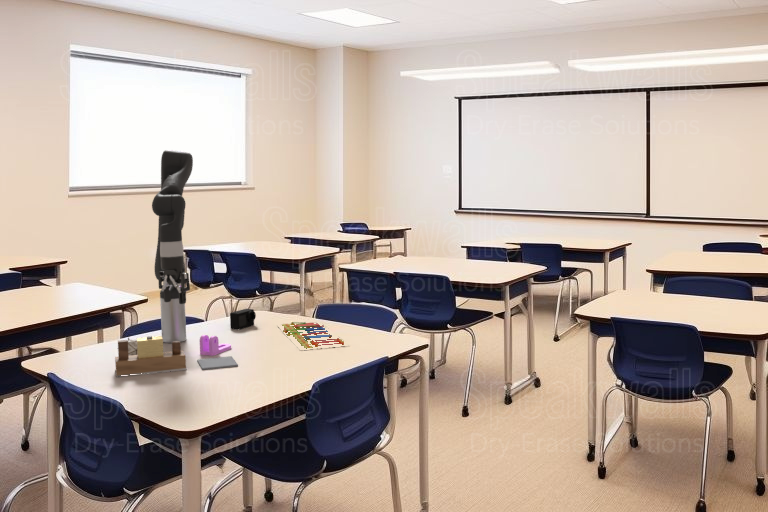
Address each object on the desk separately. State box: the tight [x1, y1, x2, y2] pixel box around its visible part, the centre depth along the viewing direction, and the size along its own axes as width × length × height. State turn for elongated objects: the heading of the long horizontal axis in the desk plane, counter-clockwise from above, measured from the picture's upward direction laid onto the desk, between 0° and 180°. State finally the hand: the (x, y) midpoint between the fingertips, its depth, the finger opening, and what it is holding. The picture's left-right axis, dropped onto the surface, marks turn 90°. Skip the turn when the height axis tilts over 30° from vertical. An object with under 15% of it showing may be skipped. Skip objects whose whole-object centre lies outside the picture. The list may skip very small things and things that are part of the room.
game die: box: [117, 337, 137, 356], centre depth 259 cm, size 9×8×10 cm
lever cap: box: [136, 335, 164, 359], centre depth 247 cm, size 4×8×7 cm, turn 112°
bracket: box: [199, 334, 232, 357], centre depth 273 cm, size 13×6×7 cm, turn 155°
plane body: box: [114, 339, 188, 377], centre depth 247 cm, size 7×22×11 cm, turn 112°
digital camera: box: [229, 308, 257, 331], centre depth 313 cm, size 10×5×7 cm, turn 150°
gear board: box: [281, 321, 345, 349], centre depth 297 cm, size 45×2×19 cm
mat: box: [196, 355, 239, 371], centre depth 256 cm, size 12×12×1 cm
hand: (175, 302), depth 248 cm, fingers open, 8 cm apart
